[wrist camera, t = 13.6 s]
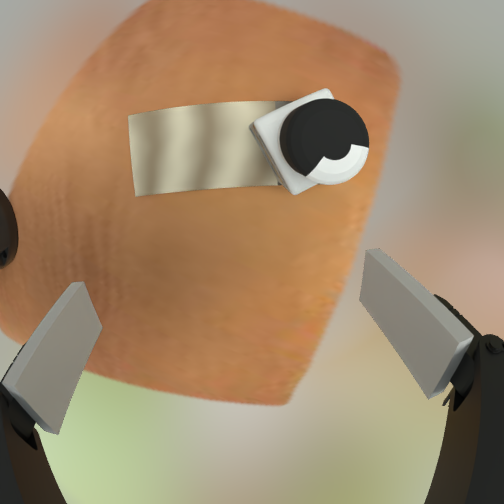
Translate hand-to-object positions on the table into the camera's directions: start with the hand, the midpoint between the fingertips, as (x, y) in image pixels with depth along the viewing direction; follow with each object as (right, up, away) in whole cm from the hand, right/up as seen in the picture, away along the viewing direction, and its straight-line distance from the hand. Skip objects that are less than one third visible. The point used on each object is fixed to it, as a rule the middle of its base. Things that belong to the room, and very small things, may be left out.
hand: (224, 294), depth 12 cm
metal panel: (-1, +14, +18) cm, 23 cm away
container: (+6, +15, +17) cm, 24 cm away
